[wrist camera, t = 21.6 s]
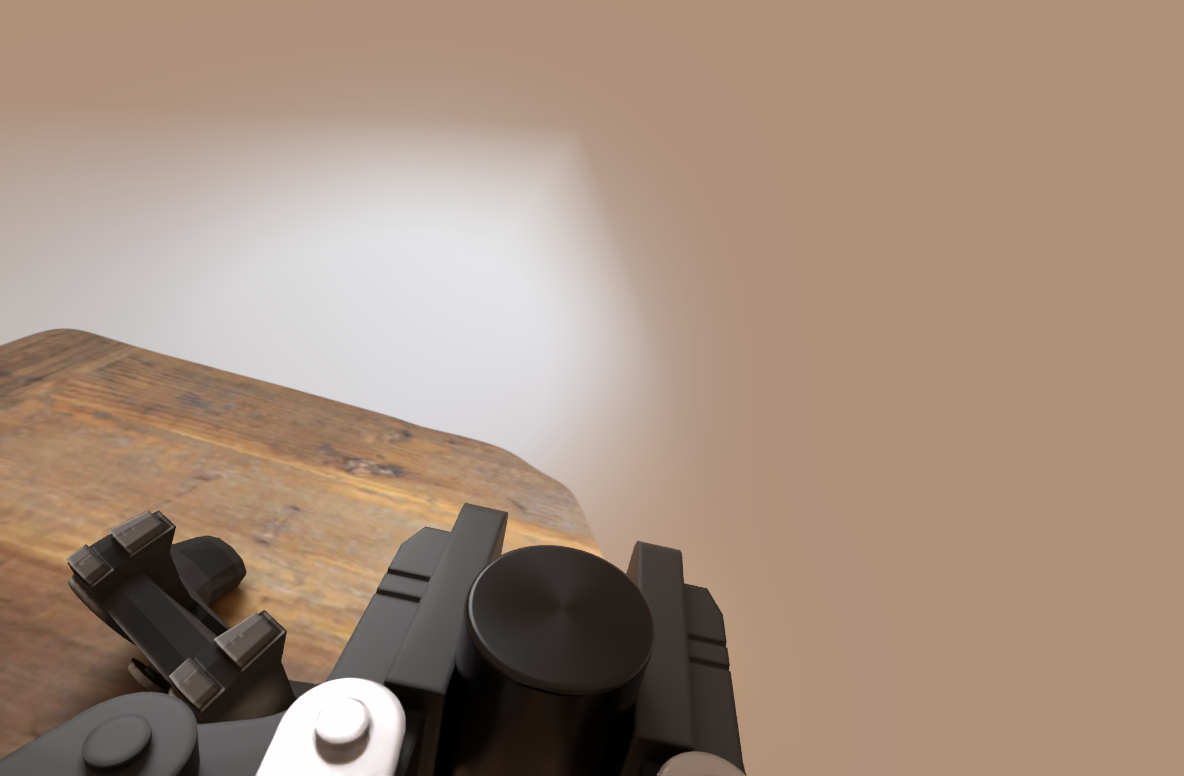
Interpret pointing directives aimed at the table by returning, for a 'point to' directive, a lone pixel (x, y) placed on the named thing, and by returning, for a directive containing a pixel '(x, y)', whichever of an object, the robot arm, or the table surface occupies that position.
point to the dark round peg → (546, 666)
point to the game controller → (185, 620)
